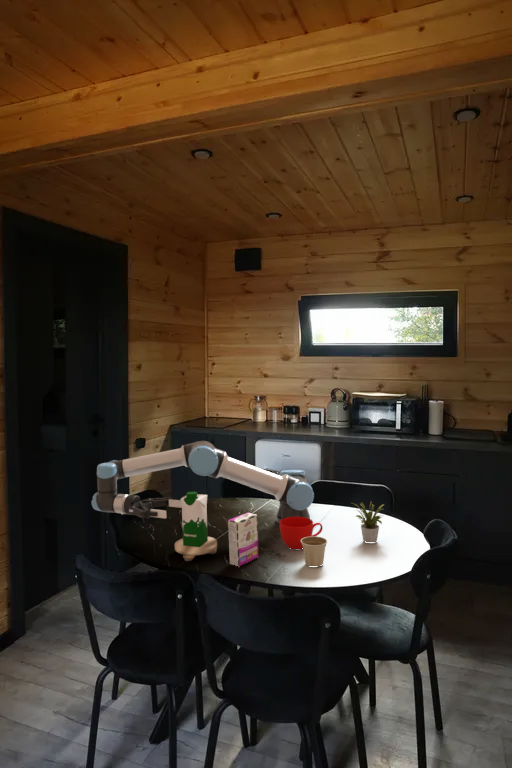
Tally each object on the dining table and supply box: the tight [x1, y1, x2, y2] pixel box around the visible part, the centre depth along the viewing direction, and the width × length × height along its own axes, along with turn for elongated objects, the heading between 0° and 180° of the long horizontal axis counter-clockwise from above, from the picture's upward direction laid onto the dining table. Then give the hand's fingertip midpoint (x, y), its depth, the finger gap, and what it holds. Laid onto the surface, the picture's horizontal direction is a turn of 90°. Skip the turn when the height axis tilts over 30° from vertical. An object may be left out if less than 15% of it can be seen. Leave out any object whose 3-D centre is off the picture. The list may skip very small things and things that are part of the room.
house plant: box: [351, 501, 386, 543], centre depth 207 cm, size 14×14×16 cm
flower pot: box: [301, 535, 328, 567], centre depth 186 cm, size 9×9×9 cm
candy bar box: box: [227, 512, 260, 568], centre depth 190 cm, size 11×5×16 cm, turn 139°
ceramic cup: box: [279, 517, 323, 550], centre depth 203 cm, size 13×17×10 cm
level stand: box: [174, 536, 218, 562], centre depth 199 cm, size 16×16×4 cm
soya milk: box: [180, 490, 209, 547], centre depth 198 cm, size 9×9×20 cm
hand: (175, 509), depth 201 cm, fingers open, 13 cm apart
